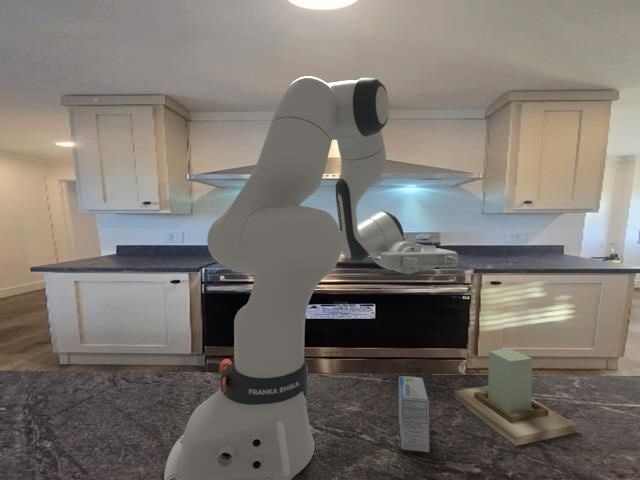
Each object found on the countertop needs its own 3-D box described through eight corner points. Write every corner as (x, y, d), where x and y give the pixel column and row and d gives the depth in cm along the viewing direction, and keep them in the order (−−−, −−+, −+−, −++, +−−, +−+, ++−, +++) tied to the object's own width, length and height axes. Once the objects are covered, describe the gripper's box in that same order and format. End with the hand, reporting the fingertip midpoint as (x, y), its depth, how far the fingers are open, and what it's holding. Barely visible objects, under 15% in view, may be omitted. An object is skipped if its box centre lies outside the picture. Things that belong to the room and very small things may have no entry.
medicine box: (429, 454, 48) (430, 400, 48) (400, 450, 49) (400, 397, 49) (423, 423, 56) (423, 377, 56) (398, 420, 57) (398, 374, 57)
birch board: (515, 445, 50) (516, 430, 50) (454, 397, 65) (454, 386, 65) (575, 432, 53) (576, 418, 53) (504, 389, 68) (504, 378, 68)
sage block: (509, 415, 56) (510, 361, 56) (488, 400, 61) (488, 351, 61) (531, 411, 57) (532, 358, 57) (508, 397, 62) (509, 348, 62)
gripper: (371, 246, 82) (397, 249, 69) (437, 245, 87) (473, 248, 74) (371, 270, 82) (396, 277, 69) (437, 267, 88) (473, 274, 74)
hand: (437, 262), depth 72 cm, fingers open, 8 cm apart
